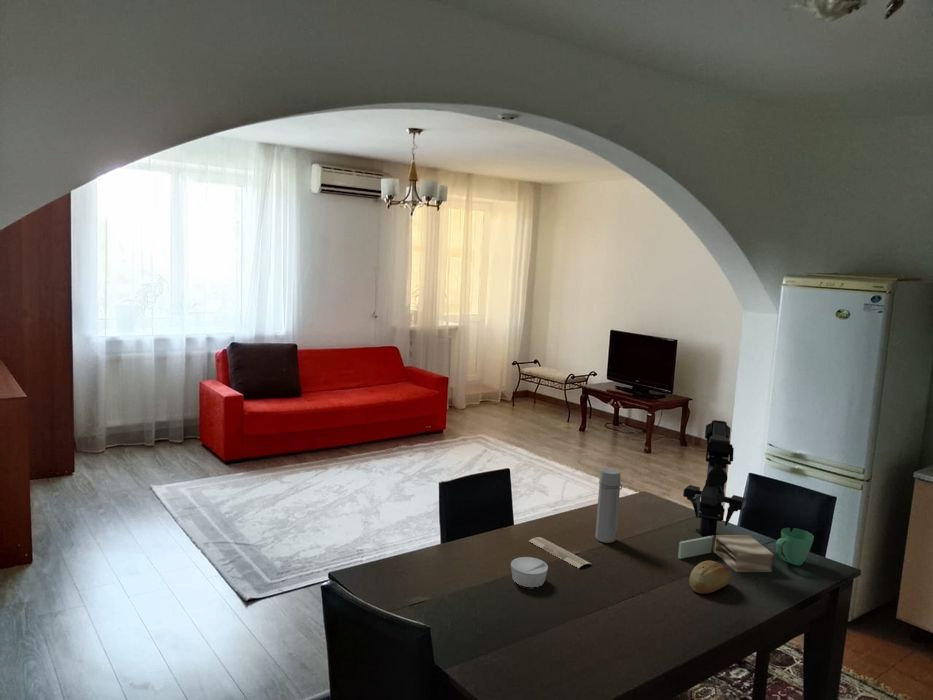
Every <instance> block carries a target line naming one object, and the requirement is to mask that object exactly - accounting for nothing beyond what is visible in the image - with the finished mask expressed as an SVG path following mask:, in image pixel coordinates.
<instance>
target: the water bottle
mask: <svg viewBox="0 0 933 700" xmlns="http://www.w3.org/2000/svg"><path fill="white" fill-rule="evenodd" d="M598 484H599V485H598V495H597V496H598V497H597V499H598V500H597V510H596V524H595V525H596V526H595V538H596V540H597V541H599V542H601V543H605V544H611V543H614V542H615V541H616V539H617V531H618V525H619V522H618V521H619V503H620V492H621V491H620V490H622V489H623V485H622V484H621V471H620V470H619V469H616V468H609V467H607V468H602V469H601V471H600V476H599V481H598Z"/></svg>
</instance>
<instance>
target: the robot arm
mask: <svg viewBox="0 0 933 700" xmlns="http://www.w3.org/2000/svg"><path fill="white" fill-rule="evenodd" d="M727 423H728V422H727V421H724V420H718V419H713V420H711V422H710V423H708V424H706V425H705V431H704V439H705V440H706V448H705V449H706V452H705V453H706V454H705V462H707V469H706V470H707V473H706V480H705V483H704V486H703V488H702V490H701V487H700V486H696V485H693V484H692V485H691V484H689V485H688V486H686V487H685V488H684V489H683V492H682V493H683V494H682V496H683V497H684V498H686V499H687V501H689V502H690V503H691V504H692V507H693V511H694V514H695V517H696V519H699V518H700V522H699V528H695V532H697V533H698V534H700V535H701V536H702V537H707V536H711V537H712V535H714V536H715V537H714V538H716V535H720V534H719V533H717V529H718V522H722V521H724V518H725V522H724V526H725V527H727V526H728V525H729V522H730V520H731V518H732V516H733V514H734V513H735V512H738V511H742V510H743V509H744V508H745V507H746V502H747V500H746V498H745V496H744V497H742V496H739V495H736V494H735V495H734V494H733V495H732V496H731V497H729V496H725V495H726V494H725V486H726V484H727V482H728V471H727V466H728V465H729V466H730V465H731V464H732V462H733V461H734V447H733V444H732V443H731V440H730V439H731V430H732V429H731V427H730V426H729V425H728V424H727ZM722 503H726V504H728V507H727V512H726V513H727V514H726V517H724V516H725V511H726V509H725V508H724V505H723V504H722Z"/></svg>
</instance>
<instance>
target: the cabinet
mask: <svg viewBox="0 0 933 700" xmlns="http://www.w3.org/2000/svg"><path fill="white" fill-rule="evenodd" d="M713 553H715V554H716V555H717V557H719V558H720V559H721V560H723V561H724V562H725V563H726V564H727V565H728V566H729V567H730V568H731V569H733V570H734V571H735V572H736V573H772V572H773V563H774V553H773V552H772V551H770V550H769V549H768V548H766V547H765V546H764V545H762V544H761V543H760V542H759V541H757V540H756V539H755V538H753V537H752V536H751V535H750V534H719V535H716V537H715V538H714V547H713Z"/></svg>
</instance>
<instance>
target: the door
mask: <svg viewBox="0 0 933 700" xmlns="http://www.w3.org/2000/svg"><path fill="white" fill-rule="evenodd" d="M715 538H716V537H715V536H714V535H712V537H711V536H707V537H703V536H702V537H697V538H693V539H687V540H682V541H679V542H678V543H679V544H678V554H677V558H678V559H679V560H681V559H685V558H691V557H696V556H700V555H706V554H709V553H714V548H715Z"/></svg>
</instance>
